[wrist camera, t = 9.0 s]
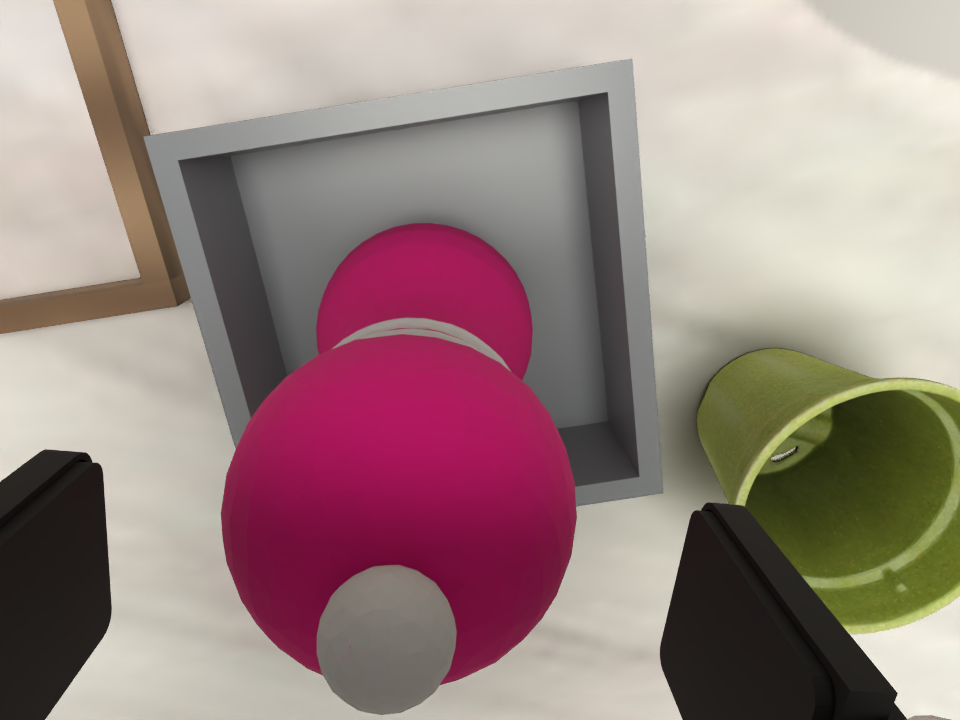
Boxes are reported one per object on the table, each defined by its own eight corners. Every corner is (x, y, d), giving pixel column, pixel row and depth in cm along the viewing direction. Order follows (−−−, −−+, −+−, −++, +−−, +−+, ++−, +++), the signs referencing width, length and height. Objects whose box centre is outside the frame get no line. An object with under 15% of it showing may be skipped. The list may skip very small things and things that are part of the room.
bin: (624, 427, 30) (663, 492, 24) (300, 477, 30) (266, 553, 24) (592, 75, 25) (632, 58, 20) (210, 136, 25) (143, 136, 20)
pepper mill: (524, 381, 28) (681, 882, 9) (350, 394, 28) (136, 932, 9) (515, 204, 26) (700, 371, 7) (327, 218, 26) (-30, 427, 7)
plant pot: (710, 538, 32) (800, 678, 24) (620, 380, 29) (686, 475, 21) (894, 443, 31) (1057, 556, 22) (819, 269, 28) (973, 324, 20)
